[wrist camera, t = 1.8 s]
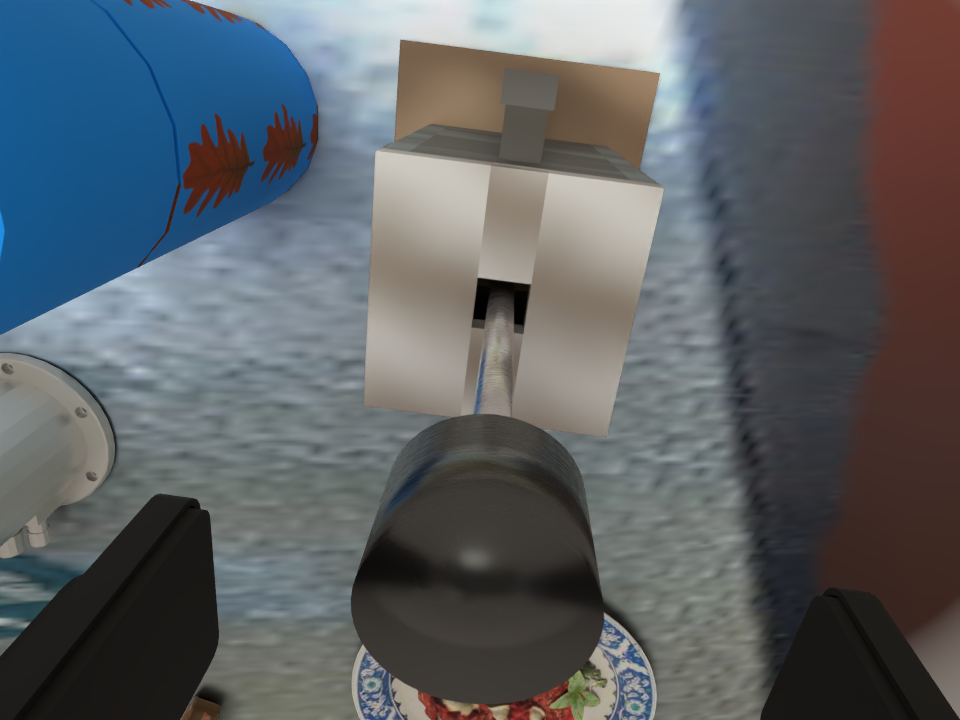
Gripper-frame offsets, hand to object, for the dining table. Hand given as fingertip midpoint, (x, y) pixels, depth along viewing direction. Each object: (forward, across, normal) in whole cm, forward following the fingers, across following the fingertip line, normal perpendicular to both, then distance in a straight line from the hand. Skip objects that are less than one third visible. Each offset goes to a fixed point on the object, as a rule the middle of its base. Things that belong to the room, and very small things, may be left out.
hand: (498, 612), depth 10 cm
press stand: (+32, +1, 0) cm, 32 cm away
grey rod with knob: (+20, +1, 0) cm, 21 cm away
